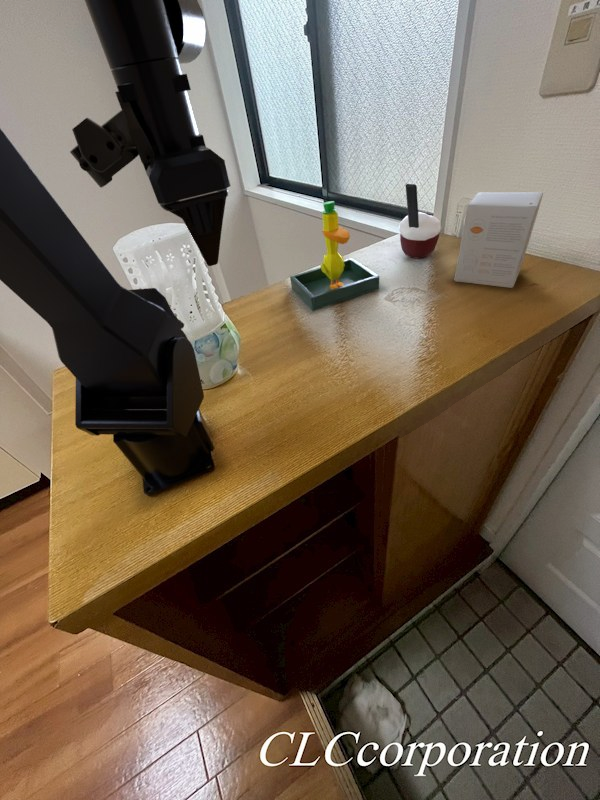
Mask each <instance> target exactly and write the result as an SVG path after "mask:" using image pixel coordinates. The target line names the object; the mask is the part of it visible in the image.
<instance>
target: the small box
mask: <svg viewBox="0 0 600 800" xmlns="http://www.w3.org/2000/svg"><path fill="white" fill-rule="evenodd" d="M543 196H544V192H543V191H537V192H536V191H534V192H533V191H530V192H529V191H528V192H527V191H525V192H524V191H523V192H521V191H520V192H519V191H513V192H510V191H506V192H505V191H503V192H501V191H499V192H498V191H497V192H495V191H489V192H486V191H484V192H483V191H482V192H481V191H479V192H477V193H476V194H475V196H474V197H473V198H472V199H471V201H470V202H469V203H468V204H467V206H466V211H465V217H464V222H463V229H462V234H461V240H460V245H459V251H458V256H457V263H456V267H455V274H454V282H457V283H464V284H465V283H466V284H467V283H468V284H476V285H482V286H483V285H484V286H492V287H501V288H508V289H513V288H514V287H515V284H516V283H517V282H516V281H517V279H518V276H519V273H520V271H521V269H522V265H523V262H524V259H525V256H526V253H527V249H528V246H529V242H530V240H531V236H532V233H533V230H534V226H535V223H536V220H537V218H538V217H537V216H538V213H539V211H540V206H541V203H542V200H543Z"/></svg>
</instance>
